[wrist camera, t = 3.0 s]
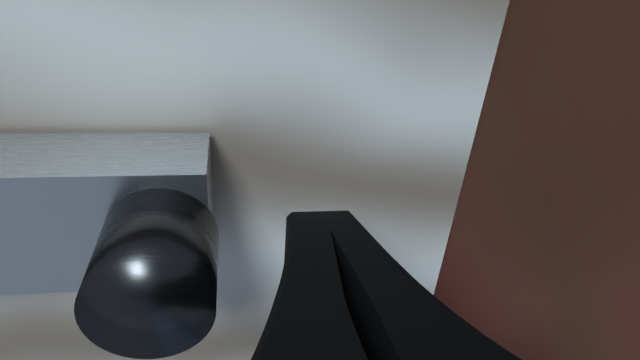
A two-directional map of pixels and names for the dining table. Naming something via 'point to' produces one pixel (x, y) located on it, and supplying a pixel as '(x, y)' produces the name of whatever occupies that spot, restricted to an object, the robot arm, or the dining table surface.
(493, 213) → the dining table surface
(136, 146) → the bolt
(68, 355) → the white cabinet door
